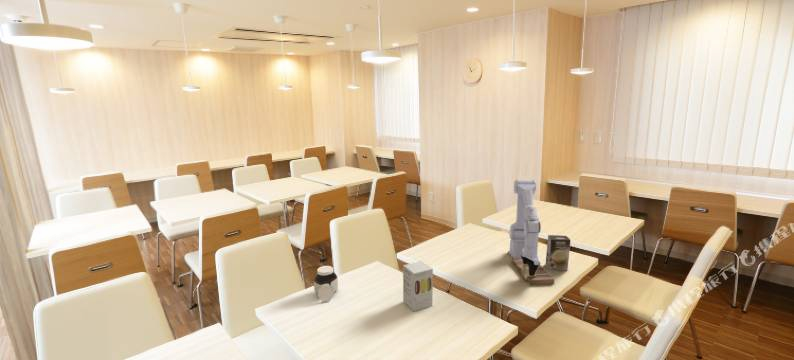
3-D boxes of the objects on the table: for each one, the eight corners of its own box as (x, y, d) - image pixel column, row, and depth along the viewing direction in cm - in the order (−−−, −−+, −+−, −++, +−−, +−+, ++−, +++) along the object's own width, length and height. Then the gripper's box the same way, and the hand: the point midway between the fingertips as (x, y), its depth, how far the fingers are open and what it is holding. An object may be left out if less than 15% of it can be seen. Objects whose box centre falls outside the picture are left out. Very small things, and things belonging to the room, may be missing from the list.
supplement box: (413, 312, 153) (413, 273, 150) (402, 301, 161) (401, 264, 158) (433, 305, 158) (433, 268, 154) (421, 295, 166) (421, 260, 162)
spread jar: (331, 286, 176) (329, 262, 173) (345, 294, 168) (344, 270, 165) (308, 295, 167) (306, 271, 165) (322, 305, 160) (321, 280, 157)
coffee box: (548, 270, 187) (551, 239, 184) (545, 264, 193) (547, 234, 190) (568, 270, 186) (570, 239, 183) (563, 264, 192) (566, 235, 189)
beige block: (521, 274, 180) (522, 264, 179) (537, 274, 181) (537, 263, 179) (525, 279, 175) (526, 268, 174) (541, 278, 176) (542, 268, 174)
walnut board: (511, 262, 196) (511, 258, 196) (531, 261, 197) (532, 257, 196) (530, 285, 173) (530, 280, 172) (553, 284, 173) (554, 278, 173)
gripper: (516, 240, 181) (515, 266, 184) (529, 252, 167) (527, 280, 170) (531, 239, 182) (529, 265, 185) (544, 251, 168) (542, 279, 170)
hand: (529, 272), depth 177 cm, fingers closed on beige block, 5 cm apart
